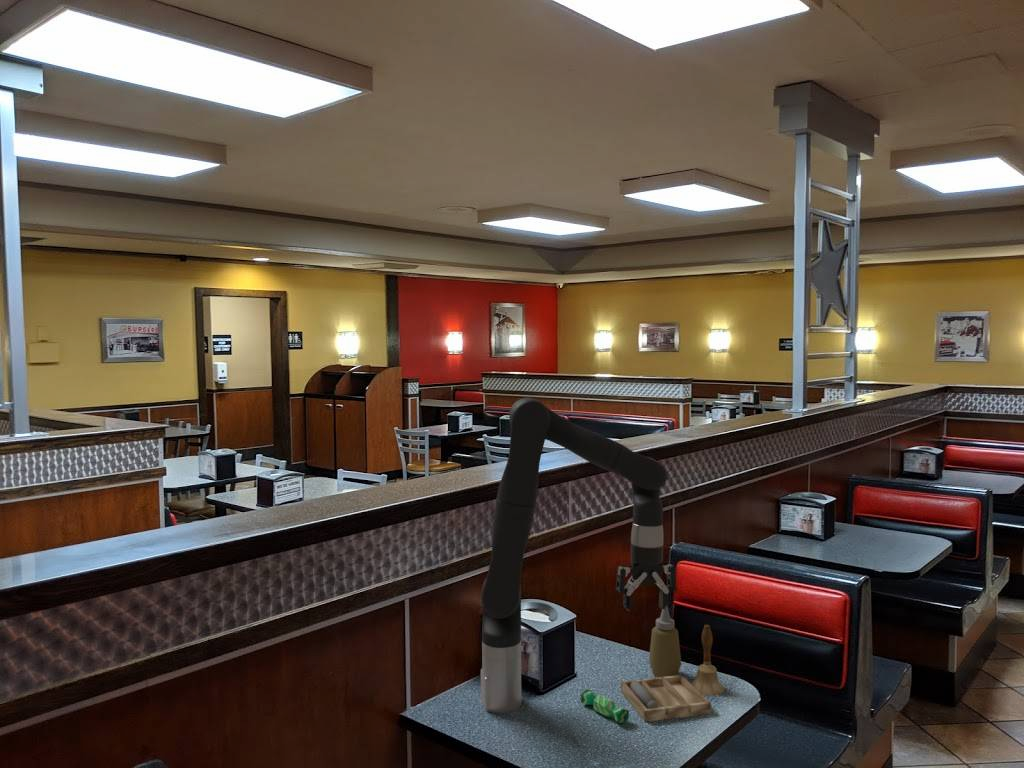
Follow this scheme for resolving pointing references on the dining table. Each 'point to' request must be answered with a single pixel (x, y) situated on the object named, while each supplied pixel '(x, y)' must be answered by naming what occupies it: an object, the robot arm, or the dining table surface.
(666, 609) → the squeeze bottle
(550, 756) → the dining table surface
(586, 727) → the dining table surface
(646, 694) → the grey capsule rod
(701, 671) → the hand bell
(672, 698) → the wooden compartment tray
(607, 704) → the candy
